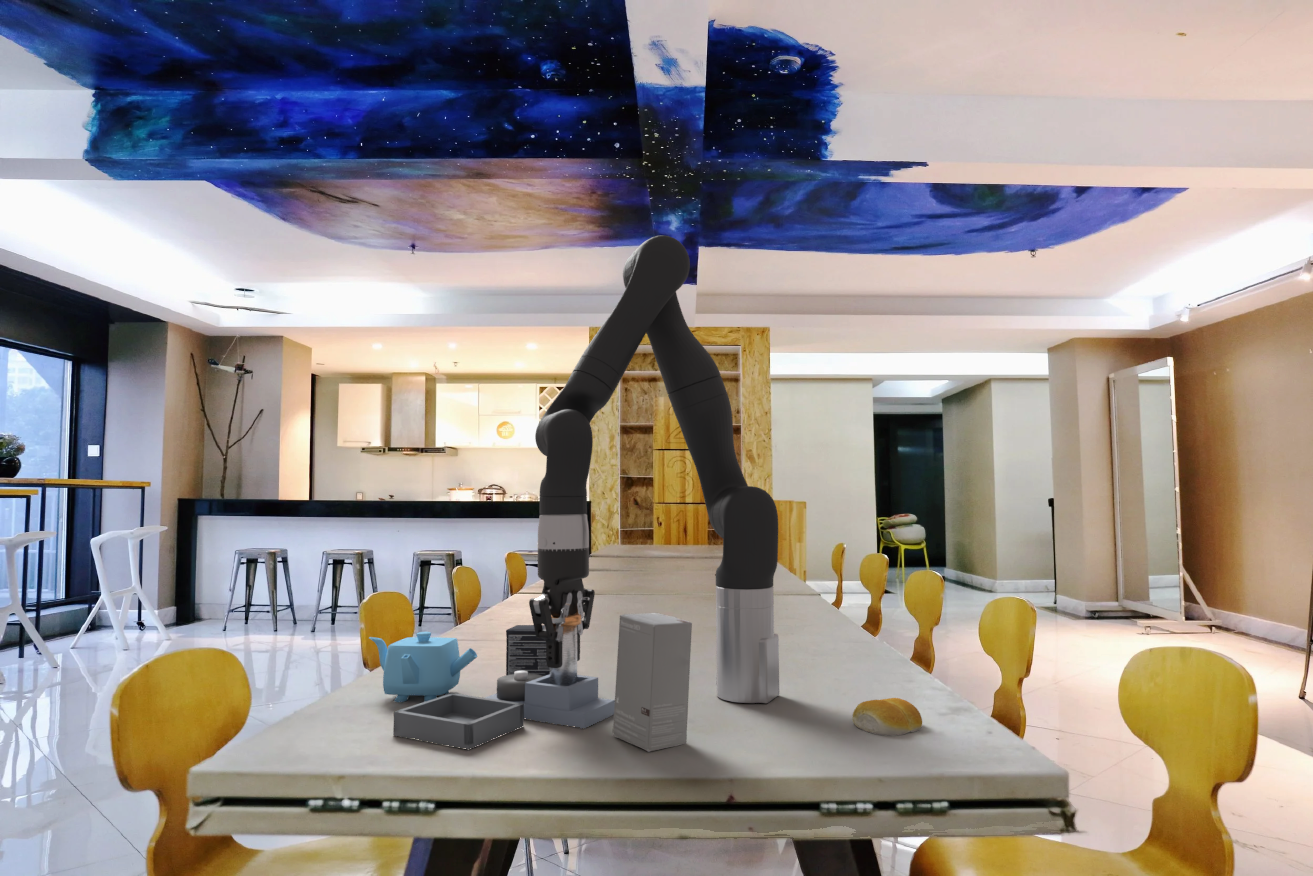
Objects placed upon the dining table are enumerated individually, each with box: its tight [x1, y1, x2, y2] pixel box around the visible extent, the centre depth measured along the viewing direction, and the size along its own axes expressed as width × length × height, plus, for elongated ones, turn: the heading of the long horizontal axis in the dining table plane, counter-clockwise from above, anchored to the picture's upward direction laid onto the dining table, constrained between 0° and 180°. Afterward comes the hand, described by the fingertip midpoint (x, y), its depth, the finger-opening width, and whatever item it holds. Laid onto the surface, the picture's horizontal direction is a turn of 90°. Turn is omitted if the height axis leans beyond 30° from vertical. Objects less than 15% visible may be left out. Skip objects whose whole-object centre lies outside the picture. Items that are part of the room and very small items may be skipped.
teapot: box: [368, 631, 478, 703], centre depth 118 cm, size 18×14×10 cm
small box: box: [505, 624, 550, 676], centre depth 122 cm, size 11×6×10 cm, turn 84°
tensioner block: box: [483, 671, 615, 729], centre depth 109 cm, size 18×8×5 cm, turn 62°
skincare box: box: [612, 612, 693, 753], centre depth 97 cm, size 8×7×16 cm
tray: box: [392, 692, 525, 749], centre depth 100 cm, size 13×11×3 cm
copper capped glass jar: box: [550, 613, 581, 686], centre depth 108 cm, size 5×5×11 cm
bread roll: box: [851, 697, 923, 736], centre depth 102 cm, size 8×9×4 cm
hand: (563, 663), depth 108 cm, fingers closed on copper capped glass jar, 4 cm apart
